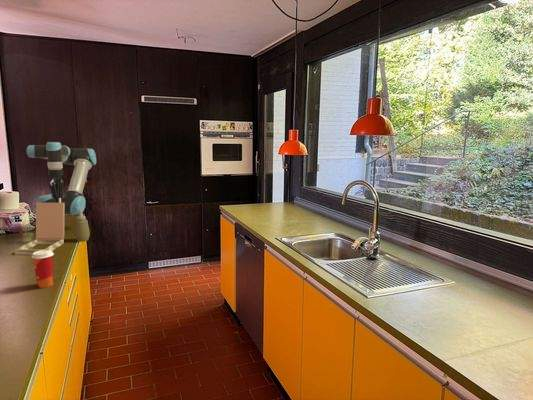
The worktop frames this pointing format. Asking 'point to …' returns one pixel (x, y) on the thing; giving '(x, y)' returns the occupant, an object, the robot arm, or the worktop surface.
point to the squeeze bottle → (81, 228)
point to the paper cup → (43, 268)
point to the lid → (49, 220)
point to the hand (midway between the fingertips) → (58, 208)
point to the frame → (25, 249)
